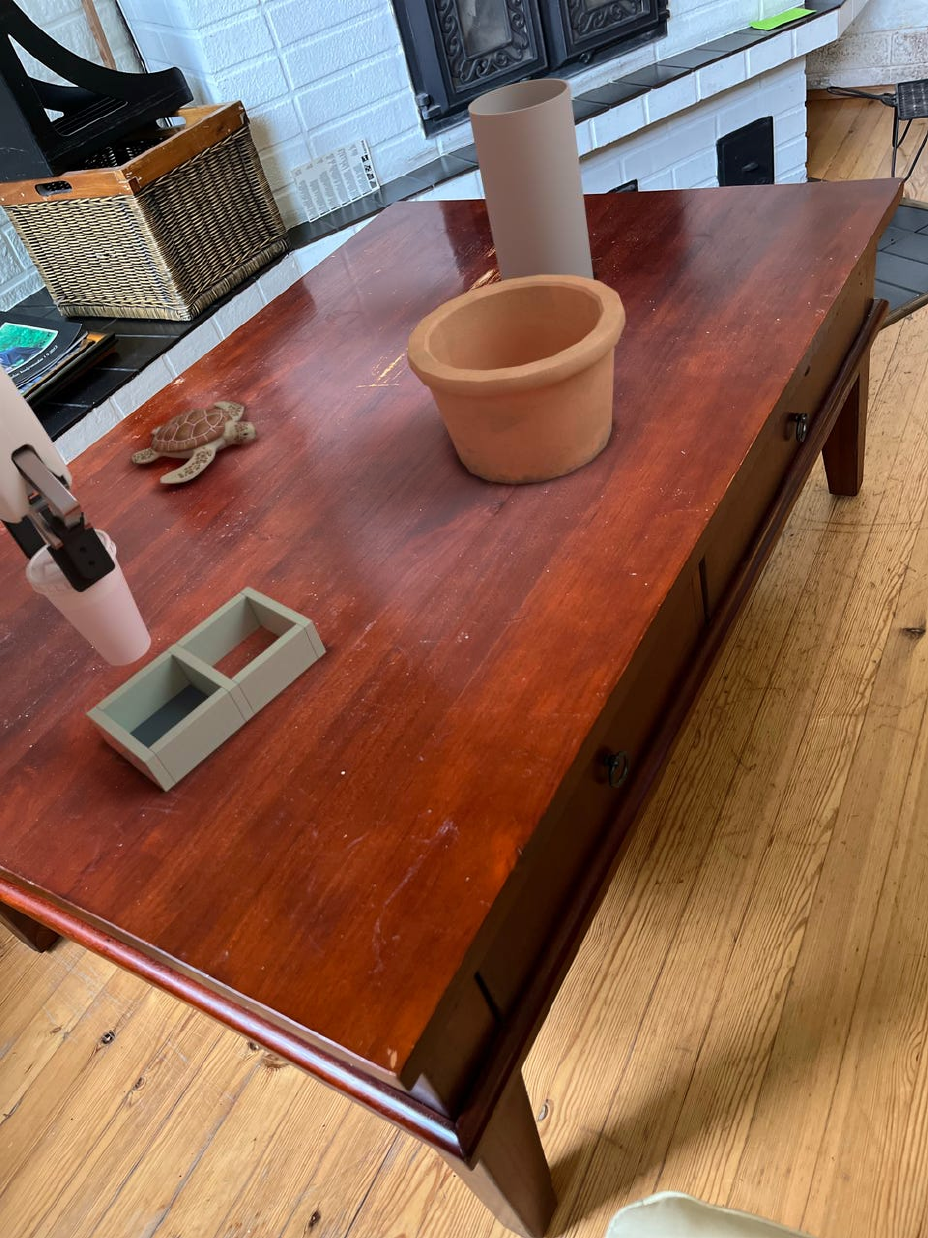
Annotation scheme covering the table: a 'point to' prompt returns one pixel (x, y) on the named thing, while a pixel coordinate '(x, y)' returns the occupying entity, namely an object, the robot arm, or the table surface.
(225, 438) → the decorative turtle
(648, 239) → the table surface
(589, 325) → the pottery
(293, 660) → the divided open box
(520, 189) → the cylinder vase
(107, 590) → the smoothie
